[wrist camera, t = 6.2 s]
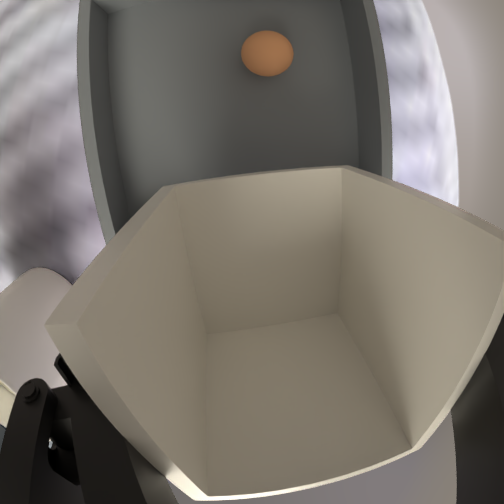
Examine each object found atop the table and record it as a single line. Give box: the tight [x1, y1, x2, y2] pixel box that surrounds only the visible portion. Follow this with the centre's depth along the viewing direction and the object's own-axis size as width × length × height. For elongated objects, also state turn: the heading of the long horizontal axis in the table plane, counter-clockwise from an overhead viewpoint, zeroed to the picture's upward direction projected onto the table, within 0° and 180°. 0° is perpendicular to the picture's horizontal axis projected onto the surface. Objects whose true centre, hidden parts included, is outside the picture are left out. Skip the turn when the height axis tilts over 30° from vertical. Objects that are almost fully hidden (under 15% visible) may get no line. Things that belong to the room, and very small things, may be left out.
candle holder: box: [0, 267, 73, 441], centre depth 15 cm, size 10×10×12 cm
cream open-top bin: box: [44, 165, 504, 500], centre depth 9 cm, size 8×8×9 cm
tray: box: [77, 0, 392, 245], centre depth 14 cm, size 18×18×4 cm
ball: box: [241, 31, 294, 76], centre depth 13 cm, size 3×3×3 cm
